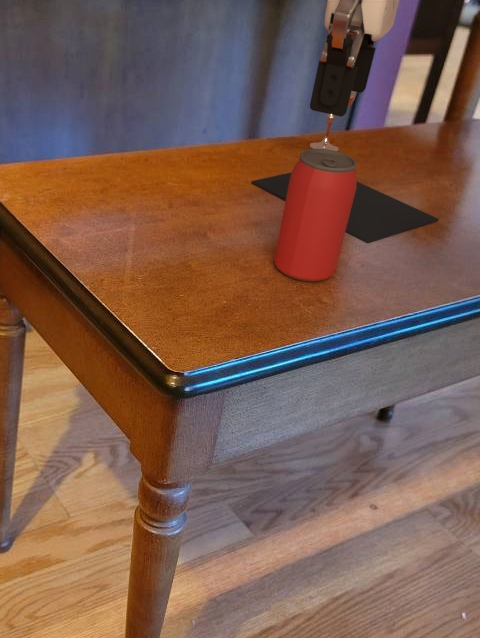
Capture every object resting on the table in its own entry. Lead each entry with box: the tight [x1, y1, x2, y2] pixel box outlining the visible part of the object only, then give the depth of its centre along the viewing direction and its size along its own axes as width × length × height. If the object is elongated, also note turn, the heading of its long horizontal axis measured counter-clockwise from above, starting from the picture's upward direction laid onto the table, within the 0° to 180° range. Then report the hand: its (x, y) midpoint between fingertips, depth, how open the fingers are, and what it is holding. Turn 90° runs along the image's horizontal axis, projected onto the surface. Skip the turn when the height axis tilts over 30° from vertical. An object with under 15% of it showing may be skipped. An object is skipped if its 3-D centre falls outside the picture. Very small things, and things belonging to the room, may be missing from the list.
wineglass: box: [309, 91, 358, 152], centre depth 109 cm, size 6×6×12 cm
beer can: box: [273, 148, 358, 283], centre depth 75 cm, size 7×7×12 cm
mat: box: [250, 171, 440, 244], centre depth 96 cm, size 20×14×1 cm
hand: (338, 100), depth 68 cm, fingers open, 9 cm apart
